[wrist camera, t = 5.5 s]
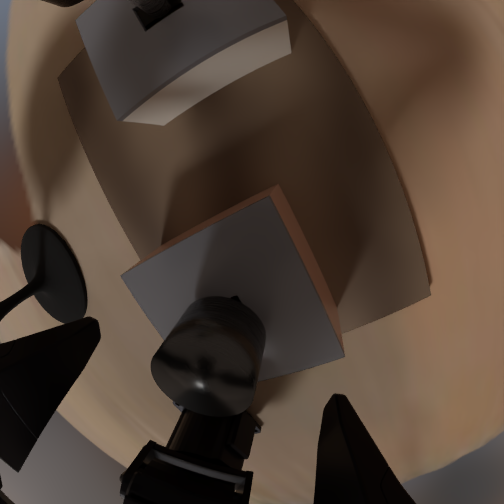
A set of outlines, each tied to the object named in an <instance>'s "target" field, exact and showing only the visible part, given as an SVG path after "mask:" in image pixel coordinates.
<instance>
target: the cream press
mask: <svg viewBox="0 0 504 504" xmlns="http://www.w3.org/2000/svg"><path fill="white" fill-rule="evenodd" d="M166 1H168V2H169V3H170V5H171V8H173V7H174V6H176V5H178V4H179V3H181V2H182V3H183V4H184V6H183V7H181V8H180V9H178V10H176V11H175V12H173V13H172V14H170V15H169V16H167V17H166V18H164V19H163V20H161V21H160V22H158V23H157V24H156V25H154V26H153V27H151V28H150V29H149V30H147V29H146V27H145V26H147V25H148V24H149V23H151V22H152V21H154V20H155V19H156V18H153V17H151V16H150V15H149V14H147V13H146V12H144V11H143V10H141V9H140V8H138V7H137V6H135V5H134V4H132V3H131V2H129V1H128V0H96V1H95V2H94V3H93V4H92V5H91V6H90V7H89V8H88V9H87V10H86V11H85V12H83V13H82V14H81V15H80V16H79V17H78V18H77V19H76V20H75V21H76V23H77V26H78V29H79V32H80V34H81V37H82V40H83V42H84V45H85V48H86V50H87V53H88V55H89V58H90V60H91V63H92V65H93V68H94V70H95V73H96V75H97V77H98V80H99V82H100V84H101V87H102V89H103V91H104V94H105V96H106V98H107V100H108V102H109V105H110V107H111V109H112V111H113V113H114V116H115V118H116V120H117V121H126V122H137V123H146V124H155V125H162V126H164V125H166V124H167V123H168V122H170V121H171V120H173V119H174V118H175V117H177V116H178V115H180V114H181V113H183V112H184V111H186V110H187V109H189V108H190V107H192V106H193V105H195V104H196V103H198V102H200V101H201V100H203V99H204V98H206V97H208V96H209V95H211V94H213V93H214V92H216V91H218V90H219V89H221V88H223V87H225V86H226V85H228V84H230V83H232V82H233V81H235V80H237V79H239V78H241V77H243V76H245V75H246V74H248V73H250V72H252V71H254V70H256V69H258V68H260V67H262V66H264V65H266V64H268V63H271V62H273V61H275V60H277V59H279V58H281V57H284V56H286V55H288V54H291V45H290V38H289V30H288V23H287V16H286V15H285V13H284V12H283V11H282V10H281V8H280V7H279V6H278V5H277V4H276V3H275V1H274V0H166ZM171 8H170V9H171Z"/></svg>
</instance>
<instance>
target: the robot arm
mask: <svg viewBox="0 0 504 504" xmlns="http://www.w3.org/2000/svg"><path fill="white" fill-rule="evenodd" d="M100 339H101V333H100V327H99V322H98V320H96V319H94V318H92V317H85V318H82V319H79V320H76V321H73V322H69V323H66V324H63V325H60V326H57V327H54V328H51V329H48V330H44V331H41V332H38V333H35V334H32V335H29V336H25V337H22V338H19V339H17V340H12V341H9V342H6V343H2V344H0V459H2V460H3V461H4V462H5V463H7V464H8V465H9V466H10V467H12V468H13V469H14V470H15V471H16V472H19V471H20V469H21V467H22V466H23V464H24V462H25V460H26V458H27V457H28V455H29V453H30V451H31V450H32V448H33V446H34V445H35V443H36V441H37V439H38V438H39V436H40V434H41V433H42V431H43V429H44V428H45V426H46V425H47V423H48V422H49V420H50V418H51V417H52V415H53V414H54V412H55V411H56V409H57V408H58V406H59V405H60V403H61V401H62V400H63V398H64V397H65V396H66V394H67V393H68V391H69V390H70V388H71V387H72V385H73V384H74V382H75V381H76V379H77V378H78V377H79V375H80V374H81V372H82V371H83V369H84V368H85V366H86V364H87V363H88V361H89V359H90V357H91V355H92V354H93V352H94V350H95V348H96V347H97V345H98V343H99V341H100ZM173 404H174V405H175V406H176V407H177V408H178V409H179V410H180V411H181V412H182V413H181V415H180V418H179V420H178V422H177V424H176V426H175V428H174V430H173V433H172V435H171V437H170V439H169V441H168V443H167V445H166V447H164V446H161V445H159V444H157V443H156V442H154V441H152V440H150V441H149V442H148V443H147V445H145V446H144V447H143V448H142V450H141V451H140V452H139V454H138V455H137V457H136V458H135V459H134V461H133V462H132V463H131V465H130V466H129V468H128V469H127V470H126V471H125V472H123V473H122V474H121V476H120V481H121V483H122V484H121V489H120V496H121V498H123V499H124V502H123V504H249V498H250V492H251V485H252V479H253V472H252V471H242V466H243V462H244V459H248V457H249V455H250V450H251V446H252V442H253V437H254V434H256V433H260V432H261V427H260V426H259V425H258V424H257V423H256V421H255V420H254V419H253V418H252V417H251V416H250V415H249V414H248V413H247V412H246V410H245V411H243V412H242V413H239V414H237V415H233V416H227V417H215V416H208V415H203V414H199V413H196V412H193V411H191V410H188V409H186V408H184V407H182V406H181V405H179V404H177V403H176V402H174V401H173ZM388 466H389V465H388V463H387V462H386V460H385V458H384V457H383V455H382V454H381V452H380V450H379V449H378V447H377V445H376V444H375V442H374V441H373V439H372V437H371V436H370V434H369V433H368V431H367V429H366V428H365V426H364V424H363V423H362V421H361V420H360V418H359V416H358V415H357V413H356V412H355V410H354V408H353V407H352V405H351V403H350V402H349V400H348V399H347V397H346V396H345V395H343V394H333V395H332V397H331V398H330V400H329V401H328V403H327V404H326V406H325V407H324V410H323V416H322V423H321V429H320V436H319V441H318V449H317V466H316V481H315V493H314V504H416V503H415V502H414V500H413V499H412V498H411V497H410V495H409V494H408V493H407V492H406V490H405V489H404V488H403V486H402V485H401V484H400V482H399V481H398V479H397V478H396V476H395V475H394V473H393V471H392V470H391V468H390V467H388ZM1 488H2V481H1V476H0V489H1ZM235 490H236V491H235ZM0 504H14V503H13V502H12V501H11V500H10V499H9V498H8V497H7V496H6V495H5V494H4V493H3V492H2V491H1V490H0Z"/></svg>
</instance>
